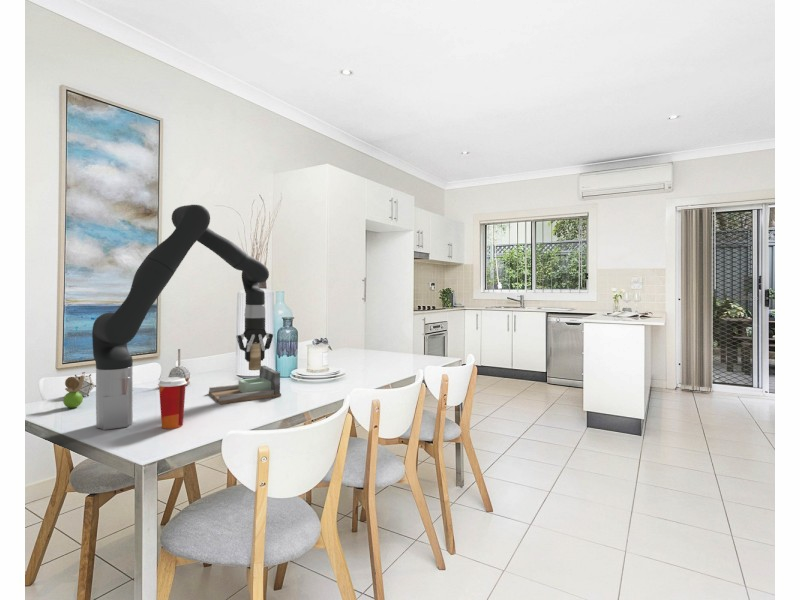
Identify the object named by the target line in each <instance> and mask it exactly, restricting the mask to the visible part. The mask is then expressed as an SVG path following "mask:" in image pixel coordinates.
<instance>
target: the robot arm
mask: <svg viewBox="0 0 800 600" xmlns="http://www.w3.org/2000/svg"><path fill="white" fill-rule="evenodd" d="M210 222H211V214H210V212H209V210H208V209H207V207H205V206H203V205H200V204H187V205H181V206H179V207H176V208H175V209H174V210H173V211H172V214H171V223H172V224H173V226H174V227H175V229H174V230H173V232H172V233H171V234H170V235H169V236H168V237H167V238H166V239H165V240H163V241H162V242H161V243H159V244H158V245H157V246H156V247H155V248H153V249H152V250H151V251H150V252H149V253H148V254H147V256H145V258H144V259H143V261H142V262H141V264H140V266H138V268H137V270H136V271H135V274H134V276H133V279H132V283H131V287H130V290H129V292H128V294H127V297H126V298H125V300H123V302H122V303H121V305H120V306H119V307H118V308H117V310H116V311H115V312H105V313H102V314H101V315H98V317H97V318H96V319H95V320H94V322H93V324H92V331H91V332H92V335H91V336H92V339H91V340H92V355H93V359H94V361H95V385H96V387H95V413H96V414H95V416H96V417H95V421H96V422H95V427H96V428H97V429H101V430H102V431H107V430H112V429H113V430H114V429H121V428H127V427H128V428H129V426H130V425H131V424H133V418H134V413H133V412H134V411H133V407H134V406H133V405H134V404H133V403H134V402H133V401H134V400H133V397H134V396H133V392H134V391H133V390H134V389H133V374H134V373H133V356H132V355H131V354H130V352H129V350H128V344H129V342H131V341H132V340H133V339H134V338H135V337H136V335H137V334H138V331H139V329H140V328H141V326H142V324H143V322H144V320H145V318H146V317H147V315H148V312H150V309H151V308H152V306H153V304H154V303H155V302H156V301H157V299H158V297H159V296H160V295H161V293H162V291H164V289H165V287H166V286H167V284H168V283H169V282H170V280H171V278H172V277H173V276H174V274H175V273H176V272H177V269H178V268H179V266H180V265H181V263H183V260H184V259H185V257H186V256H187V255H188V253H189V251H190V250H191V249H192V247H194V246H193V245H194V244H195V243H196V242H198V243H200V244H201V245H203V246H204V247H205V248H207V249H209V250H210V251H212V252H213V253H214V254H215V255H217V256H218V257H219V258H220V259H222V260H223V261H225V263H227V265H230V266H231V267H232V268H233V269H235V270H238V271H241V281H242V286H243V290H244V293H245V307H244V331H243V333H242V334H241V333H240V334H237V335H236V336H235V337H236V340H237V344H238V346H239V350H241V351H244V360H245V361H246V362H247V363H249V362H250V352H249V351H250V348H251V346H252V343H260V344H261V362H263V361H264V359H265V358H266V357H265V353H266V352H265V351H266V350H269V349H270V348H271V344H272V341H273V337H274V334H273V333H271V332H270V333H268V332H267V331H266V306H265V305H266V304H265V303H266V300H265V299H266V296H265V291H264V289H261V288H260V287H259V284H261V283H264V282H266V281H267V280H268V279H269V276H270V273H269V272H270V271H269V269H268V268H267V266H266V265H265V264H263V263H262V262H261V261H259V260H258V259H256V258H254V257H252V256H251V255H248V254H247V253H246V252H245V251H244V250H243V249H242V248H240V247H239V246H238V244H236V243H234V242H233V241H231V240H230V239H228V238H226V237H224V236H222V235H220V234H218V233H216V232H215V231H214V230H212V229H211V228H209V225H210ZM265 337H266V340H265V342H264V339H265ZM244 338H245V339H246V341H245V344H244V341H243V340H244Z"/></svg>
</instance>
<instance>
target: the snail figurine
mask: <svg viewBox="0 0 800 600" xmlns="http://www.w3.org/2000/svg"><path fill="white" fill-rule="evenodd" d="M81 373H82V375H79V376H80V382H79V380H78V379H77V378H76V377H75V376H70V377H67V378H66V379H65V381H64V385H65V387H66V388H64V390H65V391H66V392H67V393H65V395H64V397H63V399H62V402H63V405H64V406H65V407H67V408H70V409H74V408H77V407H79V406H80V405H81V404H82V403H83V400H84V397H83V396H84V395H82V394H81V393H79V392H77V391H79V390H80V389H81V388H82V386H83V382H84V378H85V376H86V375H85V373H86V371H83V372H81Z"/></svg>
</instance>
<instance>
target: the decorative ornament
mask: <svg viewBox="0 0 800 600" xmlns="http://www.w3.org/2000/svg"><path fill="white" fill-rule="evenodd" d="M177 355H178V357H177V361H178V362H177V364H178V365H177V366H174V367H172V369H170V371H169V374H168V377H167V378H170V377H181V378H185V380H186V382H187V383H186V386H189V385H190V383H191V381H189V380H190V379H191V376H190V375H191V372H190V371H189V369H188V368H187V367H186V366H184V365H181V349H180V348H178V349H177Z"/></svg>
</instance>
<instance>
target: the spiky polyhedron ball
mask: <svg viewBox="0 0 800 600" xmlns="http://www.w3.org/2000/svg"><path fill="white" fill-rule="evenodd" d="M80 376H81V375H77V374H74V377H76V378H77V379H78V380H79V382H80ZM84 376H85V378H84V382H83V386H82V388H81V389H80V390H79V391H77V392H79V393H81V394H82V396H87V397H88V396H90V395H89V393H90V392H91V391H92V390H93V389H94V388H96V384H94V382H93V379H92V377H91V376H92V373H90V374H89V375H84Z"/></svg>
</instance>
